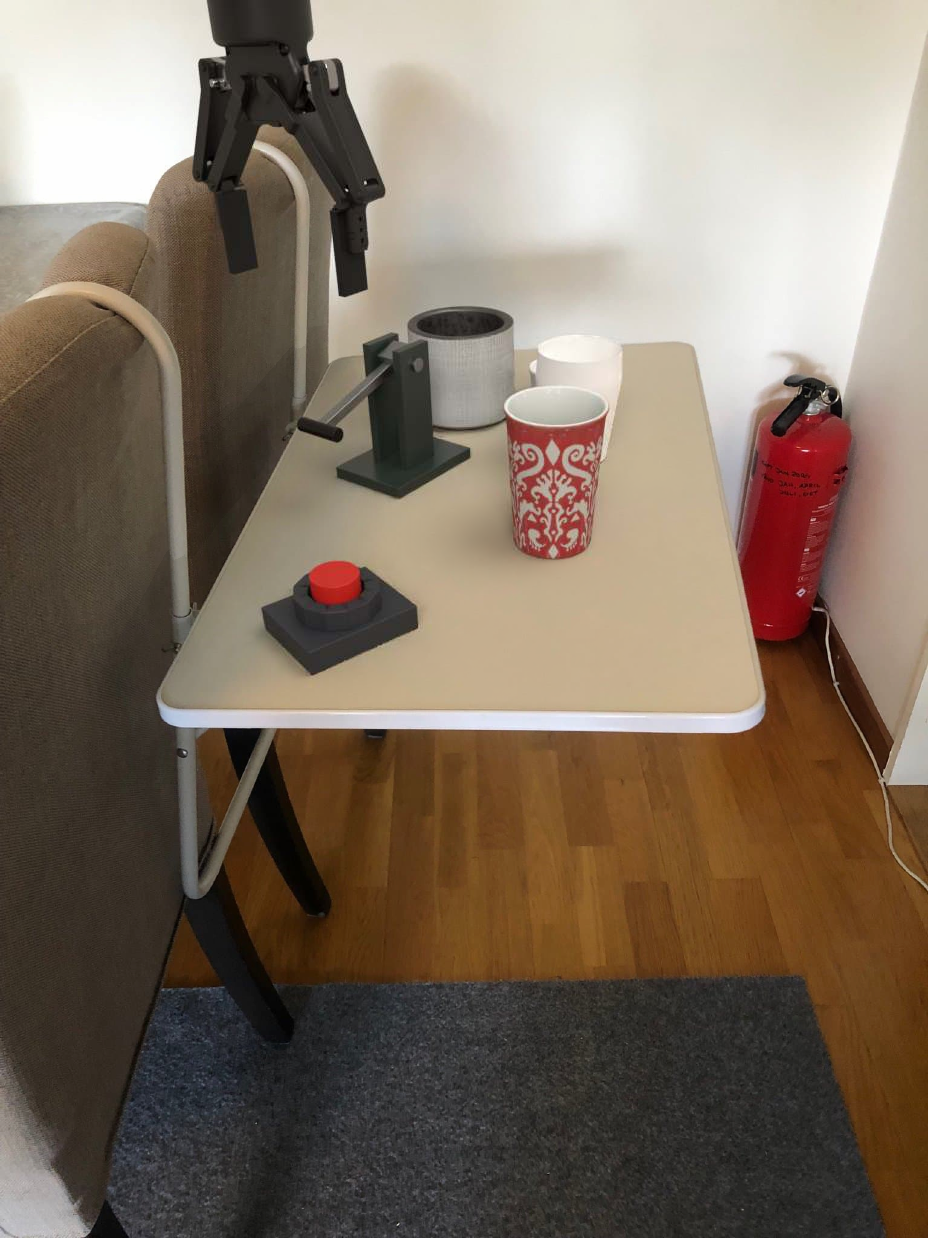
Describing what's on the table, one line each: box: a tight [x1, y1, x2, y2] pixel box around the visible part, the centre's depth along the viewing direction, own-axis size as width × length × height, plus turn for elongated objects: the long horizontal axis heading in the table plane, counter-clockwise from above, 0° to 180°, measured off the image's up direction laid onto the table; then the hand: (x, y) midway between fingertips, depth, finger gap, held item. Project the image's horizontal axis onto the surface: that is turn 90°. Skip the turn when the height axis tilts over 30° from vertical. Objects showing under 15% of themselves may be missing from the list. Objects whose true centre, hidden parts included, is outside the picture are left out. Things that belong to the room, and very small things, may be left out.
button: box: [309, 560, 362, 605], centre depth 73 cm, size 4×4×2 cm
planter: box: [406, 305, 516, 431], centre depth 109 cm, size 13×13×11 cm
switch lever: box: [296, 340, 408, 444], centre depth 91 cm, size 14×5×2 cm, turn 142°
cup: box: [536, 334, 623, 463], centre depth 98 cm, size 9×9×12 cm
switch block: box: [261, 566, 419, 676], centre depth 75 cm, size 10×8×4 cm
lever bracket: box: [335, 331, 472, 499], centre depth 96 cm, size 12×9×14 cm
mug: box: [503, 386, 610, 560], centre depth 84 cm, size 13×9×14 cm
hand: (296, 281), depth 79 cm, fingers open, 13 cm apart
